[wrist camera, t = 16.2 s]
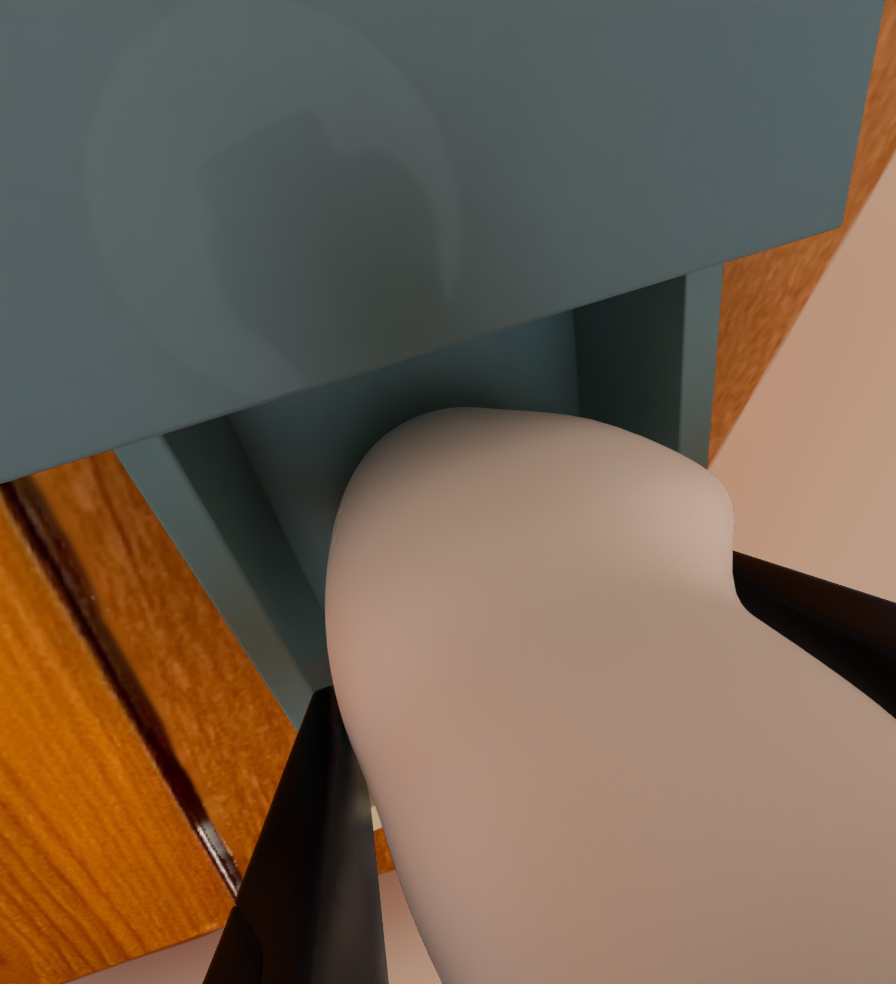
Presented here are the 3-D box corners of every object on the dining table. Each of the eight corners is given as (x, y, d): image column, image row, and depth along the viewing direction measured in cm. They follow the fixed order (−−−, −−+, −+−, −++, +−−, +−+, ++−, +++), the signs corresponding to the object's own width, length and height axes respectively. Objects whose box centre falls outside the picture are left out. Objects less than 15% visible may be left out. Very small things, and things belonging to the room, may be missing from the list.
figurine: (593, 585, 16) (1033, 1265, 6) (352, 626, 15) (368, 1522, 5) (619, 364, 12) (1909, 1135, 2) (304, 400, 11) (-25, 2043, 1)
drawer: (616, 648, 23) (704, 764, 19) (360, 752, 22) (382, 908, 17) (592, 120, 13) (788, 67, 8) (79, 250, 11) (-78, 287, 6)
